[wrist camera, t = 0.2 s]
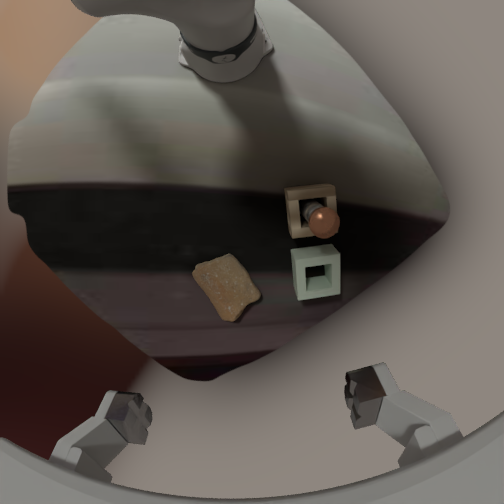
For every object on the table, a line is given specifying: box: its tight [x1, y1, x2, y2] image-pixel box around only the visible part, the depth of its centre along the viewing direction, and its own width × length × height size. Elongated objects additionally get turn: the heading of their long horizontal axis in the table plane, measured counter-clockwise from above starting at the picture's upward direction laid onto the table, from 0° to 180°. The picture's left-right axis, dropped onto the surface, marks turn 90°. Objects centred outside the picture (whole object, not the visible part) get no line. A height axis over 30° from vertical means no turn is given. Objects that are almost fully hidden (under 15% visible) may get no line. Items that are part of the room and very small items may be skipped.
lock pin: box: [299, 198, 340, 238], centre depth 48 cm, size 5×5×13 cm
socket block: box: [291, 244, 340, 300], centre depth 56 cm, size 9×9×6 cm
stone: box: [192, 254, 261, 322], centre depth 59 cm, size 11×16×3 cm
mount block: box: [284, 183, 338, 239], centre depth 52 cm, size 9×9×5 cm
